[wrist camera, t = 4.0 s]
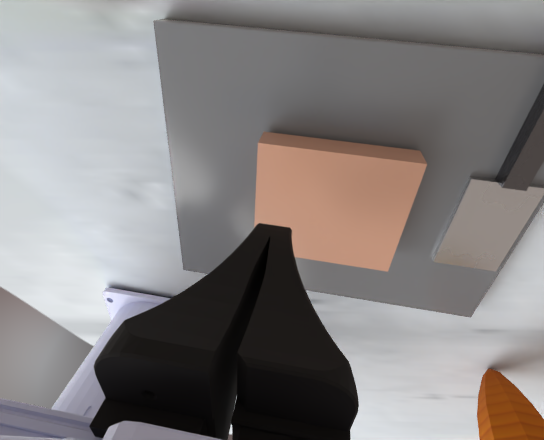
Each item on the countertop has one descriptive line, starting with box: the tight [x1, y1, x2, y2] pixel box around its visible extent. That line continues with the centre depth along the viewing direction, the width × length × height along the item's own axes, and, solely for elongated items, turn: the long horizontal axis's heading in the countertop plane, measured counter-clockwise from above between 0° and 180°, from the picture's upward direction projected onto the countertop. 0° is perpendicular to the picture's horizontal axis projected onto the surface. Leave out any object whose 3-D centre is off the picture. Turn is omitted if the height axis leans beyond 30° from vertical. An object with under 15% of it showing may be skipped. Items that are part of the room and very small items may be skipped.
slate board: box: [154, 19, 544, 317], centre depth 17 cm, size 14×18×1 cm
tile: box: [254, 132, 427, 272], centre depth 16 cm, size 6×2×7 cm
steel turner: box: [432, 84, 544, 271], centre depth 14 cm, size 11×3×1 cm, turn 177°
